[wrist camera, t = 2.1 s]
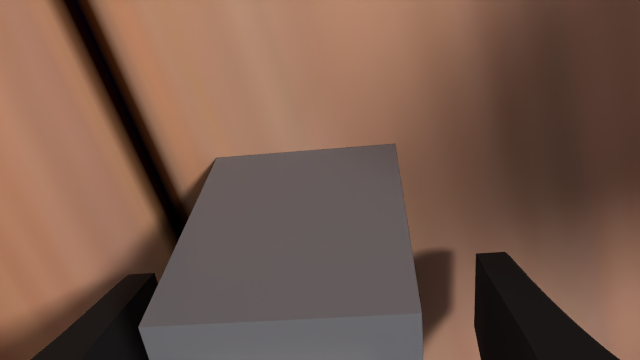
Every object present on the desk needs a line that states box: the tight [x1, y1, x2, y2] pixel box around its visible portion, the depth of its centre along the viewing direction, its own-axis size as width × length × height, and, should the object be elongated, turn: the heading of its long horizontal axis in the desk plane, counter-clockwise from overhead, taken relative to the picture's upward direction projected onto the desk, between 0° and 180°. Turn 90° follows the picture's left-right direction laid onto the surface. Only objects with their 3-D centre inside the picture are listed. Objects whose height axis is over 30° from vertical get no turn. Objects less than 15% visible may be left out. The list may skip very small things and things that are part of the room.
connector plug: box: [138, 144, 423, 360], centre depth 12 cm, size 6×4×6 cm, turn 6°
